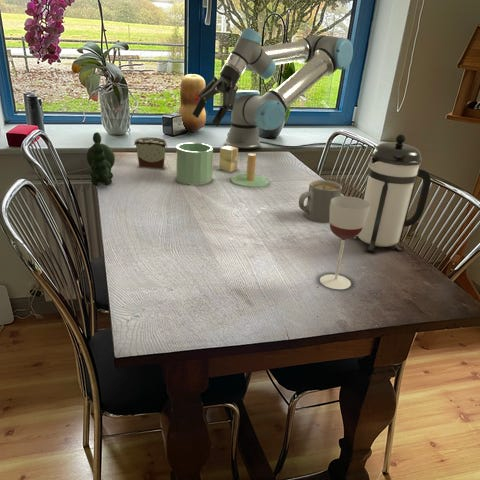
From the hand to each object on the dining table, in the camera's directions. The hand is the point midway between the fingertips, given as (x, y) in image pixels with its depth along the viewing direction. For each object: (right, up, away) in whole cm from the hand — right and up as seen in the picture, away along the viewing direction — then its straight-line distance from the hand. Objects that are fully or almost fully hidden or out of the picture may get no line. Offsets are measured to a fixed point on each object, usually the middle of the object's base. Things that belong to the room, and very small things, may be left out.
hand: (204, 120), depth 193 cm
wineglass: (+37, -69, -72) cm, 106 cm away
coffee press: (+54, -56, -51) cm, 93 cm away
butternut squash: (-10, +14, +50) cm, 53 cm away
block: (+9, -20, -1) cm, 22 cm away
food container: (-20, -19, -2) cm, 27 cm away
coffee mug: (+38, -45, -36) cm, 69 cm away
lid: (+17, -27, -13) cm, 35 cm away
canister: (-3, -27, -13) cm, 30 cm away
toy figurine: (-34, -29, -20) cm, 49 cm away
